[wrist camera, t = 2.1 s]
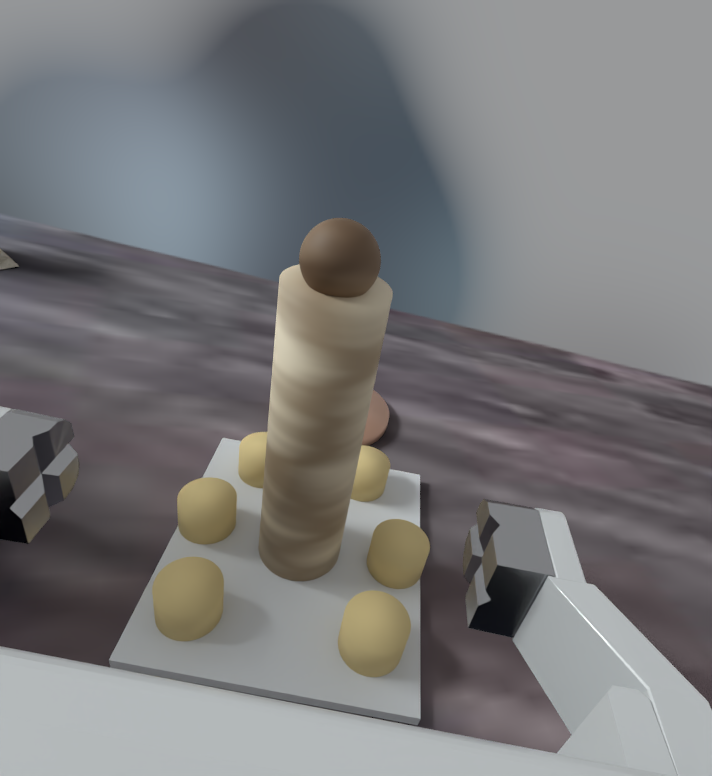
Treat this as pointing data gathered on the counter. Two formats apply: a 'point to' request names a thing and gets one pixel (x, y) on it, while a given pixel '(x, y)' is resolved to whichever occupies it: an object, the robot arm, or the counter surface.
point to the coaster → (376, 420)
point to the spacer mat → (287, 596)
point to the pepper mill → (320, 395)
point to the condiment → (6, 261)
